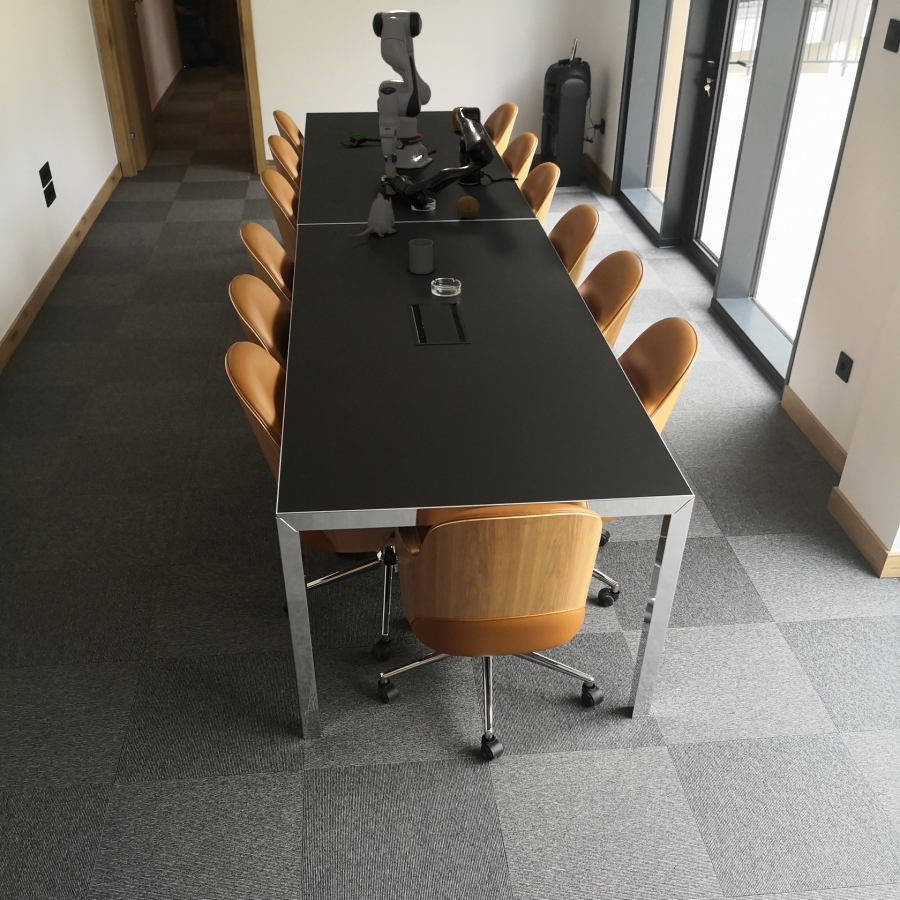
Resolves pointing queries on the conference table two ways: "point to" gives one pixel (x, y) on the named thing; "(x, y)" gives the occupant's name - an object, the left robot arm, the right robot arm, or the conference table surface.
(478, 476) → the conference table surface
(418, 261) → the cup
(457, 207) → the potato
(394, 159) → the lid
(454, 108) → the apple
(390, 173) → the jar
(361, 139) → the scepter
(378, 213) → the toy
